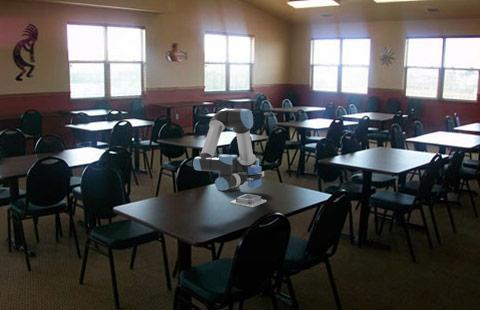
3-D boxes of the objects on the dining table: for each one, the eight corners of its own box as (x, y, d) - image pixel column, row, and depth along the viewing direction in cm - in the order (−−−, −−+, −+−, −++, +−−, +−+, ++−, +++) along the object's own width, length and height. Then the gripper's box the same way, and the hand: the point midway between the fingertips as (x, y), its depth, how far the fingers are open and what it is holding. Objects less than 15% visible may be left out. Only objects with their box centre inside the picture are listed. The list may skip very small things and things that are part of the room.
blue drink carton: (254, 184, 305) (254, 163, 303) (261, 185, 302) (261, 164, 300) (247, 186, 299) (248, 165, 297) (254, 187, 296) (254, 166, 294)
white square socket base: (244, 197, 315) (244, 192, 314) (266, 201, 306) (266, 196, 306) (230, 203, 302) (230, 197, 301) (252, 207, 293) (252, 201, 292)
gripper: (224, 183, 292) (248, 177, 310) (248, 188, 281) (271, 181, 299) (224, 171, 290) (248, 165, 308) (248, 175, 279) (272, 169, 298)
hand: (259, 173), depth 304 cm, fingers closed on blue drink carton, 5 cm apart
